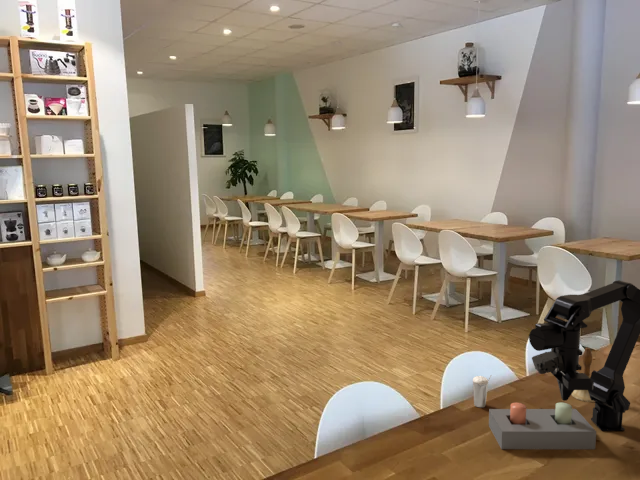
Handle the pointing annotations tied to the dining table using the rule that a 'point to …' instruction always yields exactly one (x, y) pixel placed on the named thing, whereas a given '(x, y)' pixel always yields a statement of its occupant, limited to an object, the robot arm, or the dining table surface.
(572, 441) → the console
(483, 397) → the milkshake
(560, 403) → the sage plug
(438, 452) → the dining table surface
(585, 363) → the hand bell
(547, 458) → the dining table surface
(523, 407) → the terracotta plug
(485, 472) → the dining table surface
